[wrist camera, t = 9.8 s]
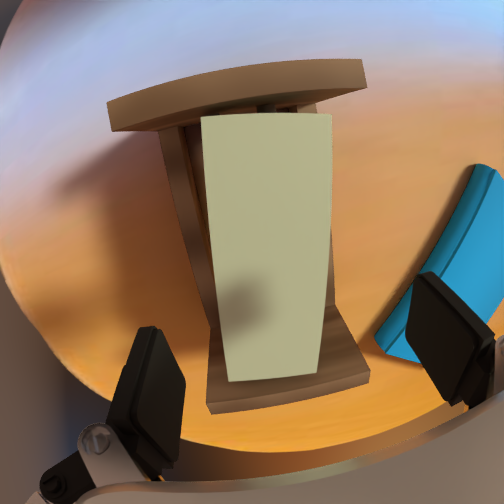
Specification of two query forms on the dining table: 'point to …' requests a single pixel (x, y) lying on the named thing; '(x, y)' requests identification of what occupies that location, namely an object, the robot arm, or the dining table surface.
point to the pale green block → (269, 237)
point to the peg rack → (191, 219)
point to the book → (462, 258)
